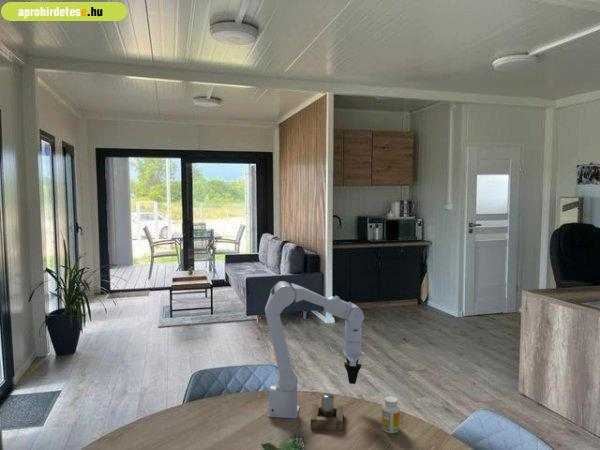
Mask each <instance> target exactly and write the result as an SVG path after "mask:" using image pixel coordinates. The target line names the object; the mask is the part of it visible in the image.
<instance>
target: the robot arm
mask: <svg viewBox="0 0 600 450" xmlns="http://www.w3.org/2000/svg"><path fill="white" fill-rule="evenodd" d="M294 301H295V303H298V302H302V301H305V302H309V303H312V304H314V305H317V306H320V307H323V308H324V311H325V313H328V314H330V315H332V316H335V317H337V318H339V319H342V320H343V319H344V351H343V356H344V357H345V359H346V362H344V364H343V365H344V369H345V370H346V373H347V379H348V383H349V384H350V385H356V383H357V380H358V379H357V378H358V375H359V372H360V370H361V367H362V364H361V363H359V360H360V358H361V357H365V356H366V355H365V352H364V351H362V328H363V327H362V323H363V322H364V320H365V315H364V311H363V310H362V309H361V308H360V307H359V306H358V305H356V304H355V303H353V302H351V301H348V302H347V301H345V300H343V299H341V298H340V297H339V296H338V295H335V296H333V295H331V296H328V297H326V296H323V295H321V294H319V293H316V292H315V291H312V290H310V289H308V288H307V287H304V286H301V285H298V284H295V283H292V282H291V283H289V282H287V281H285V280H281V281H280V280H279V281H278V282H277V283H275V284H274V285H273V287H272V288H271V290H270V294H269V296H268V299H267V301H266V305H265V307H264V313H265V318H266V322H267V325H268V329H269V334H270V339H271V344H272V348H273V351H274V355H275V356H274V357H275V361H276V364H277V366H276V370H275V371H276V372H275V373H276V376H277V382H276V384H273V385H270V387H269V393H268V417H270V418H280V419H281V418H284V419H286V418H287V419H297V418H298V415H299V411H300V405H298V383H299V380H298V376H297V374H296V372H295V367H294V365H293V364H292V362H291V359H290V356H289V355H290V354H289V349H288V345H287V342H286V338H285V333H284V329H283V325H282V320H281V314H282V313H283V310H285V308H287V307H289V306H290V305H291V304H292V303H294Z"/></svg>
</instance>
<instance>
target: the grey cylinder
mask: <svg viewBox="0 0 600 450" xmlns="http://www.w3.org/2000/svg"><path fill="white" fill-rule="evenodd" d="M334 398H335V396H334V394H332V393H330V392H328V393H327V392H326V393H322V394H321V400H320V401H321V402H320V405H321V417H333V418H334V405H335V403H334V402H335V401H334V400H335V399H334Z"/></svg>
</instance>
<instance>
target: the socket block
mask: <svg viewBox="0 0 600 450" xmlns="http://www.w3.org/2000/svg"><path fill="white" fill-rule="evenodd" d="M311 410H312V411H311V415H310V429H315V430H325V431H327V430H328V431H339V432H340V431H341V432H342V431H343V426H344V423H343V422H344V420H343V419H344V406H343V405H335V404H334V418H333V417H321V403H313V404H312V408H311Z"/></svg>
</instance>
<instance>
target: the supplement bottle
mask: <svg viewBox="0 0 600 450" xmlns="http://www.w3.org/2000/svg"><path fill="white" fill-rule="evenodd" d="M381 410H382V411H381V429H382V430H383V431H384V432H386V433H388V434H396V433H398V432H399V431H400V410H401V409H400V406H399V405H398V398H397V397H394V396H391V395H390V396H386V397H384V403H383V404H382V405H381Z"/></svg>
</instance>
